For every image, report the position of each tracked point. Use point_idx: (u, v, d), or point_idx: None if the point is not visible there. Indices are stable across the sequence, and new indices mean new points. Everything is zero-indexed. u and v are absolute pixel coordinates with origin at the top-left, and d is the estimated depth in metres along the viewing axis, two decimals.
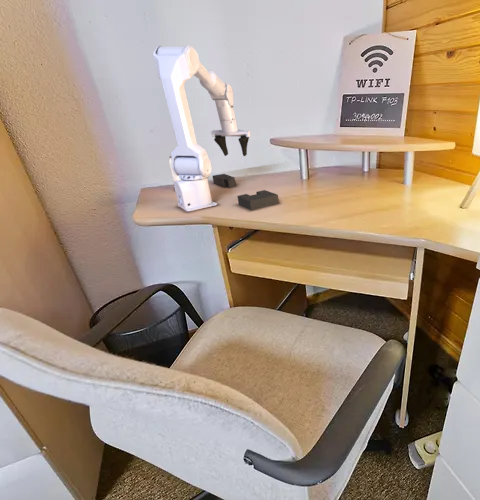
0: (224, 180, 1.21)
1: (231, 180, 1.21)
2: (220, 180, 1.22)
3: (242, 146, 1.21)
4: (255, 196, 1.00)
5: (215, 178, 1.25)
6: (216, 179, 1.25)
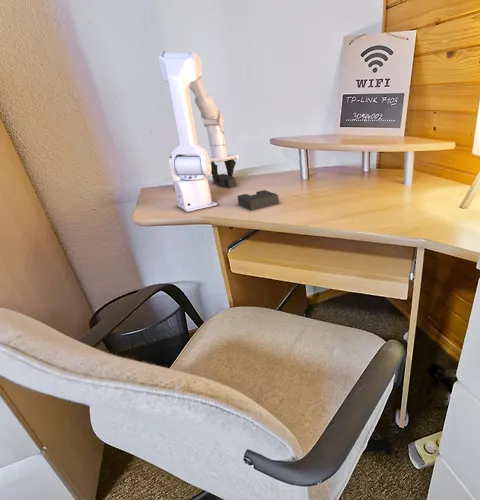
0: (224, 180, 1.21)
1: (231, 180, 1.21)
2: (220, 180, 1.22)
3: (231, 169, 1.25)
4: (255, 196, 1.00)
5: None
6: None
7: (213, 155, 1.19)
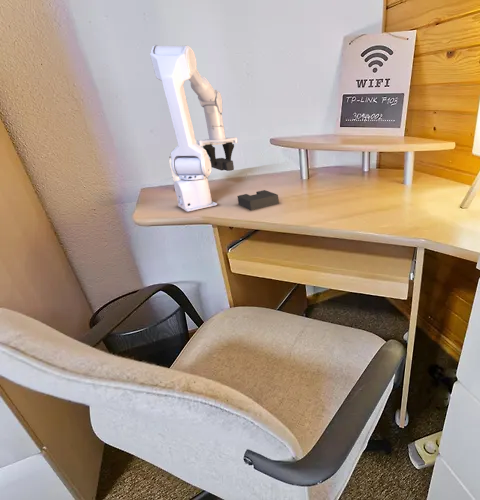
0: (222, 163, 1.17)
1: (229, 163, 1.17)
2: (218, 163, 1.18)
3: (230, 153, 1.21)
4: (255, 196, 1.00)
5: None
6: None
7: (211, 137, 1.15)
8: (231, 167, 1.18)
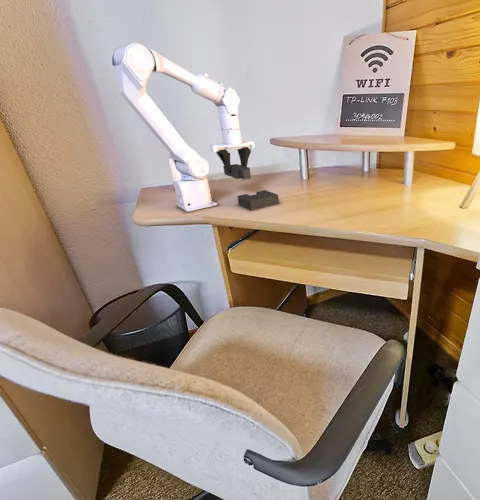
0: (238, 171, 1.04)
1: (246, 171, 1.03)
2: (233, 171, 1.05)
3: (246, 159, 1.07)
4: (255, 196, 1.00)
5: None
6: None
7: (225, 141, 1.02)
8: (248, 175, 1.04)
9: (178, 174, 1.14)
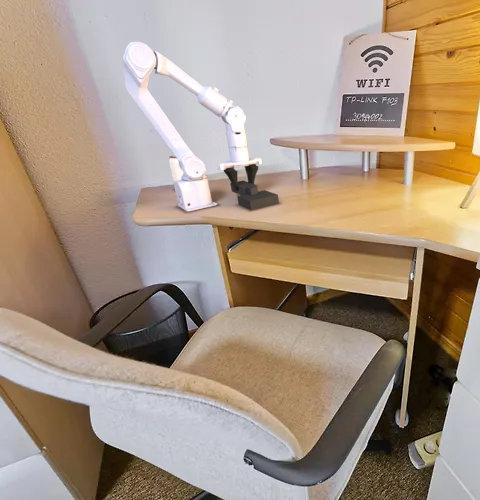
0: (245, 189, 1.02)
1: (254, 189, 1.02)
2: (240, 188, 1.03)
3: (253, 176, 1.06)
4: (255, 196, 1.00)
5: None
6: None
7: (233, 159, 1.00)
8: (255, 193, 1.03)
9: (178, 174, 1.14)
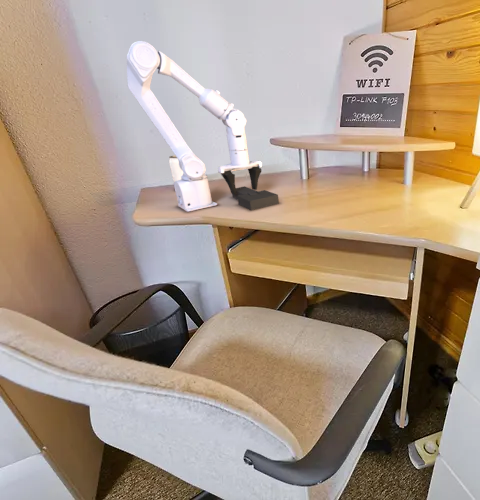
0: None
1: None
2: None
3: (256, 178, 1.07)
4: (255, 196, 1.00)
5: None
6: (236, 193, 1.06)
7: (233, 162, 1.01)
8: None
9: (178, 174, 1.14)
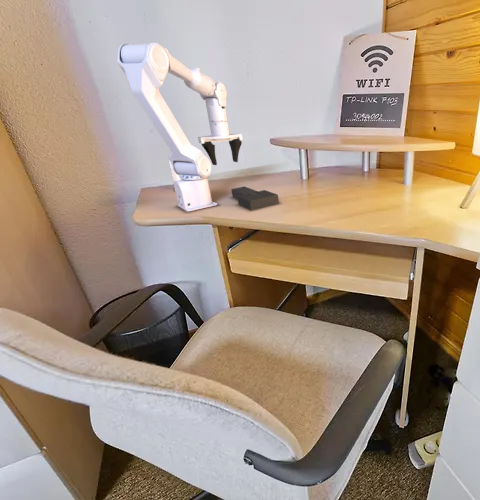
0: None
1: None
2: None
3: (237, 150, 1.11)
4: (255, 196, 1.00)
5: (235, 192, 1.07)
6: (236, 193, 1.06)
7: (213, 133, 1.04)
8: None
9: None
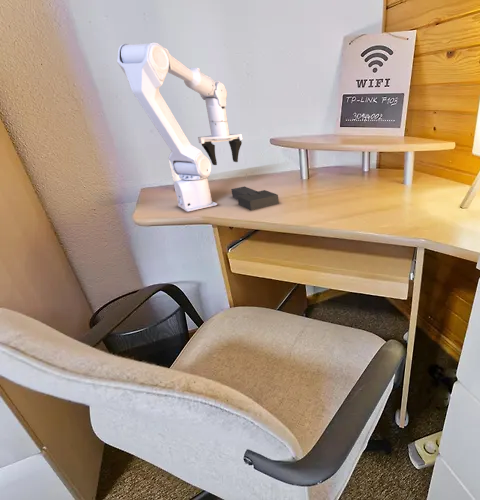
0: None
1: None
2: None
3: (237, 150, 1.11)
4: (255, 196, 1.00)
5: (235, 192, 1.07)
6: (236, 193, 1.06)
7: (213, 133, 1.04)
8: None
9: None
